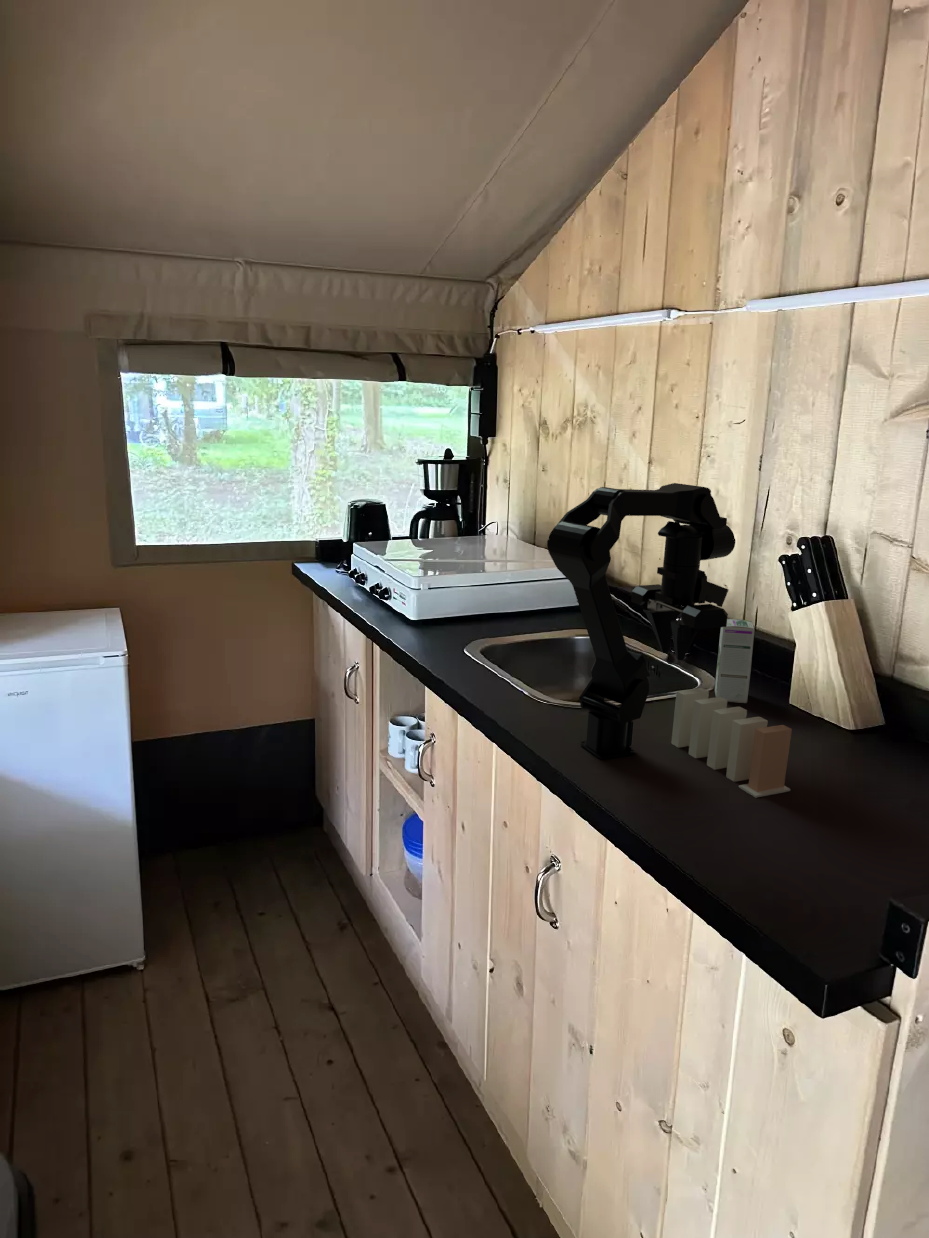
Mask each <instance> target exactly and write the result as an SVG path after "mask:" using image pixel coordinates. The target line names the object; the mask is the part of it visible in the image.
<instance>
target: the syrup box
mask: <svg viewBox="0 0 929 1238" xmlns="http://www.w3.org/2000/svg"><path fill="white" fill-rule="evenodd" d="M719 632H720V633H719V642H718V654H717V663H716V674H715V683H714V694H715V697H721V698H723V699H725V700H727V703H739V704H740V703H741V704H747V703H748V698H749V697H748V695H749V690H750V689H749V688H750V681H751V680H750V679H751V671H752V670H751V669H752V661H753V660H752V659H753V649H754V638H755V632H756V631H755V627H754V625H753V621H752V620H747V619H738V618H737V619H736V618H727V626H726V627H720V631H719Z"/></svg>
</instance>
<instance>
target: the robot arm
mask: <svg viewBox="0 0 929 1238" xmlns="http://www.w3.org/2000/svg"><path fill="white" fill-rule="evenodd" d="M601 515H602V516H606V521H605V522H604V523H603V525H602V526H601V528H600V527H598V526H594V525H589V524H591V523H592V522H594V521H595V520H597V519H599V517H600V516H601ZM636 516H637V517H642V516H643V517H644V516H645V517H658V516H659V517H662V518H665V519H671V520H673V521H670V520H669V521H667V523H666V524H665V525H664V526H663V527H661V528H660V529H659V530H658V531H657V535H658V536H660V537H665V541H664V553H663V563H662V566H658V567H657V569H656V573H657V575H661V583H660V584H656V583H655V584H641V585H636V586H635V587H634V589H632V590H631V596H630V597H631V599H630V602H631V603H633V604H636V605H638V606H643V605H644V604H645V603H646V602H647V607H646V608H645V607H644V608H643V609H642V610H643V613H645V614H646V616H647V619H648V621H649V624H650V625H651V627H652V630H653V632H654V636H655V637H656V640H657V643H658V646H659V649H660V651H661V653H662V654H667V653H669V651H670V648H671V647H670V646H671V642H672V640H673V649H674V654H675V659H676V660H677V661H683V660H684V659H685V656H686V655H687V653H688V651H689V648H690V646H691V645H692V643H693V641H694V639H695V637H696V635H697V633H698V632H699V631H700V630H705V629H716V628H721V627H726V626H727V619H729V618H728V617H729V614H728V612H727V611H726V610H725V609H724V608H723V606H724V605H723V604H724V602H725V600H726V597H727V595H728V594H729V593H728V592H729V589H728V588H726V587H724V586H721V585H719V584H716V583H713V582H710V581H709V580H708V575H706V573H705V572H706V571H703V570H702V569H700V565H701V561H707V560H708V561H709V560H712V559H719V558H724V557H727V556H729V555H730V554H731V553H732V552H733V551H734V549H735V547H736V538H735V534H734V532H733V530H732V529H731V527H730V526H729V525H727V522H728V517H724V516H720V513H719V511H718V508H717V505H716V502H715V499H714V497H713V495H712V491H711V489H710V487H706V486H699V485H691V484H685V483H677V482H672V483H668V484H664V485H662V486H660V487H659V488H658V489H632V488H631V489H629V488H614V487H613V488H612V487H607V486H602V487H601V486H600V487H598V488H596V489H594V490H593V491H592V492H591V494H589V496H588V498H587V499H586V500H583V501H582V502H581V503H579V504H578V505H576V506H575V507H572V508H571V509H570V510H569V511H567V512H566V513H565V514H564V515H563V516H562V518H561V519H560V520H559V522H558V523H557V524H556V525H555V526H554V527H553V528H552V529H551V531H550V534H549V536H548V539H547V541H546V542H547V543H546V545H547V546H546V547H547V551H548V554H549V555H550V558H551V559H552V562H553V564H554V566H555V567H556V569H557V570H558V571H559V572H560V573H561V575H563V576H564V577H565V578H566V579H567V580H568V582H570V583H571V585H572V588H573V591H574V594H575V598H576V601H577V603H578V607H579V610H580V613H581V616H582V619H583V622H584V625H585V628H586V631H587V634H588V637H589V641H590V644H591V648H592V651H593V654H594V657H595V660H594V662H593V665H592V667H591V669H590V673H591V675H590V676H591V679H590V680H589V682H588V684H587V685H586V686H585V688H584V690H583V691H582V693H581V694H580V695H579V697H578V699H579V705H580V708H581V709H583V710H587V711H588V712H587V715H588V716H587V727H586V738H585V740H581V741H580V746H581V747H583V748H584V749H585V750H587V751H588V752H590V753H591V754H593V755H594V756H595V757H596V758H598V759H601V760H605V759H606V760H607V759H611V758H612V759H614V758H619V757H625V756H631V755H635V754H636V750H635V749H634V748H632V746H633V736H634V724H635V723H634V721H635V720H639V719H640V718H641V717H642V714H643V712H644V709H645V705H646V702H647V699H648V695H649V692H650V681H649V677H651V673H650V672H649V671H648V668H647V664H646V662H647V661H646V659H645V657H644V655H643V654H640V653H637V652H635V651H630V650H628V647H627V645H626V644H627V643H626V641H625V637H624V633H623V631H622V627H621V625H620V624H621V623H620V620H619V617H618V614H617V611H616V607H615V604H614V601H613V597H612V593H611V591H610V586H609V583H608V581H607V576H606V573H607V571H608V569H609V566H610V563H611V561H612V560H611V559H612V558H611V550H612V548H613V547H614V546H615V544H616V543H617V542H618V540H619V538H621V537H620V536H621V529H622V528H621V527H622V521H623V520H624V519H625V517H636ZM714 604H716V605H714ZM680 614H681V616H680ZM679 616H680V619H677V618H678V617H679ZM676 619H677V620H676ZM605 699H606V700H605ZM607 700H610V701H611V702H610V701H607ZM613 702H614V703H617V704H614V703H613ZM619 704H621V705H619Z"/></svg>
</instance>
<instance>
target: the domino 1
mask: <svg viewBox="0 0 929 1238" xmlns="http://www.w3.org/2000/svg"><path fill="white" fill-rule="evenodd" d="M709 693H710V690H707V689H705V688H704V687H697V688H692V689H682V690H676V694H675V695H676V696H675V704H674V714H673V724H672V734H671V744H672V745H673V746H674V747H676V748H678V749H679V748H685V747H689V745H690V736H691V726H692V716H693V707H694V700H700V699H708V698H709Z"/></svg>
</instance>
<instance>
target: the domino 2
mask: <svg viewBox="0 0 929 1238" xmlns="http://www.w3.org/2000/svg"><path fill="white" fill-rule="evenodd" d="M724 708H728V702H727V700H725V699H723V698H721V697H716V696H715V697H710V698H709V697H708V699H700V700H694V707H693V716H692V726H691V736H690V745H689V746H688V755H690V756H691V757H693V758H694V759H700V758H708V750H709V741H710V732H711V723H712V714H713V710H717V709H724Z"/></svg>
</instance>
